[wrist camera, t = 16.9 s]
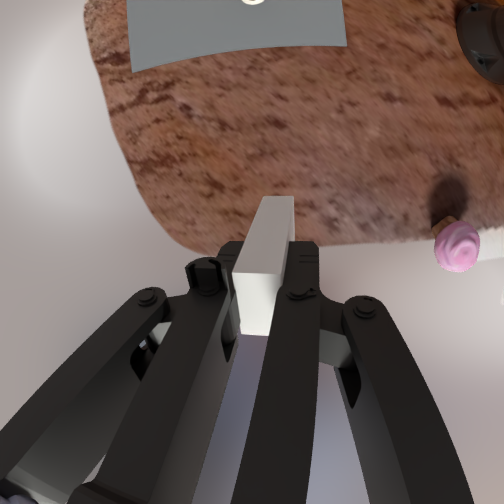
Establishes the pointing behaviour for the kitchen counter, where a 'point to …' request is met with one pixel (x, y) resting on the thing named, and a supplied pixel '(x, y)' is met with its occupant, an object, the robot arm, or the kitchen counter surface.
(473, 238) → the cupcake
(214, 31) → the card
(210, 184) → the kitchen counter surface
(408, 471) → the robot arm
